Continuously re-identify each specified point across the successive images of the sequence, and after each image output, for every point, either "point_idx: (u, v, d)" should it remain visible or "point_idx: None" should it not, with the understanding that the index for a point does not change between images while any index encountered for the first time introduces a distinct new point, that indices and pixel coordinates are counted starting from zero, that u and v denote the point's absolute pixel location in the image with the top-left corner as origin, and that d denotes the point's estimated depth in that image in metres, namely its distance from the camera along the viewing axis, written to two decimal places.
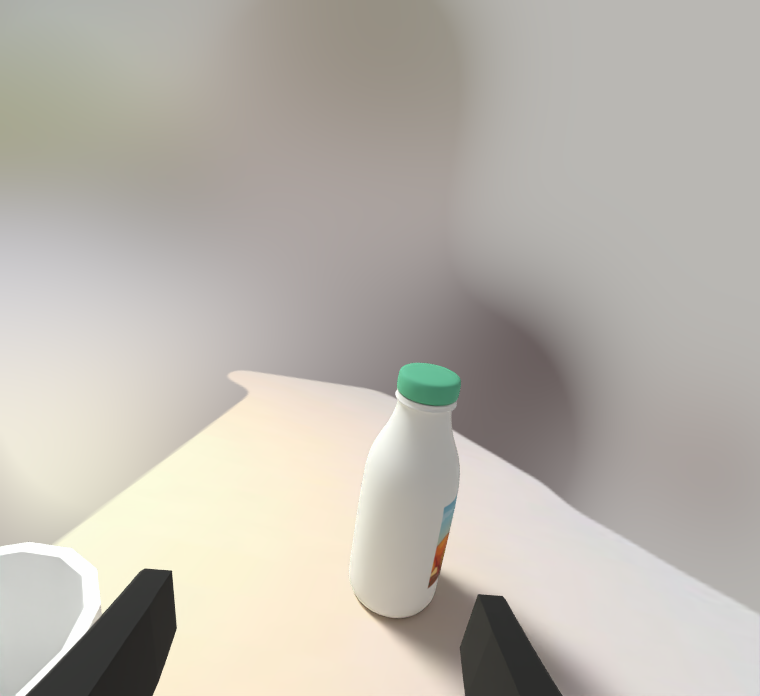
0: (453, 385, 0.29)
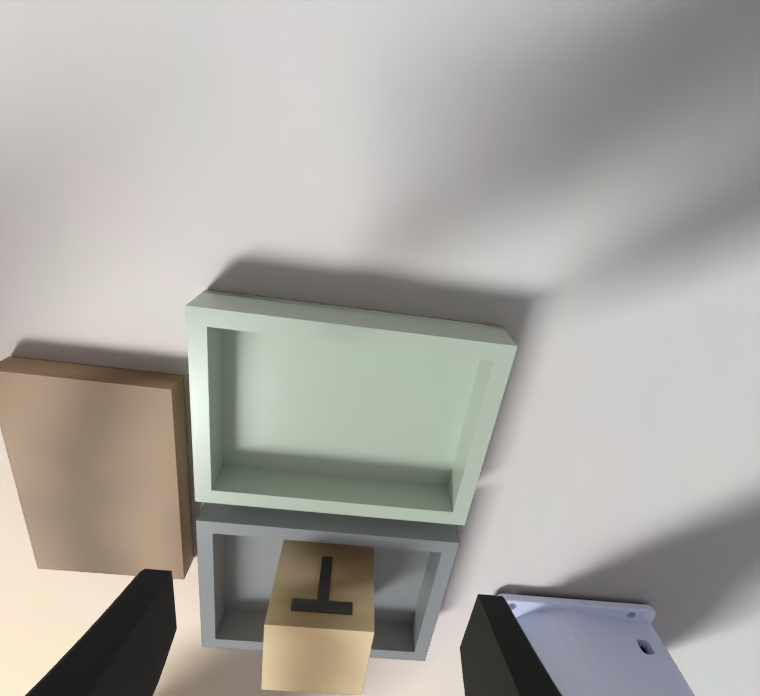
0: None
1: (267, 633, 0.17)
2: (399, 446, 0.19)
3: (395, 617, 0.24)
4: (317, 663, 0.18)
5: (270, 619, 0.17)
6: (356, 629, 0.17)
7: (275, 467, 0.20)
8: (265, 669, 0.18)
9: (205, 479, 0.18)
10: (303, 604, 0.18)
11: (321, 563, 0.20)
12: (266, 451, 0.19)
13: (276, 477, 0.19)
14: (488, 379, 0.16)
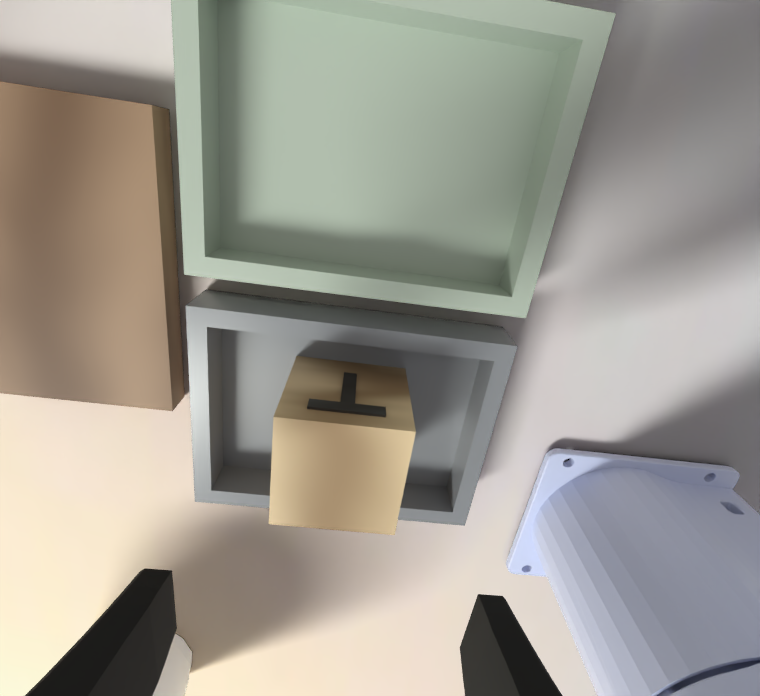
0: None
1: (277, 431, 0.13)
2: (442, 219, 0.15)
3: (427, 479, 0.20)
4: (340, 482, 0.14)
5: (281, 413, 0.13)
6: (392, 428, 0.13)
7: (285, 251, 0.16)
8: (274, 491, 0.14)
9: (197, 238, 0.14)
10: (323, 405, 0.14)
11: (343, 378, 0.16)
12: (275, 226, 0.15)
13: (287, 259, 0.15)
14: (571, 75, 0.12)
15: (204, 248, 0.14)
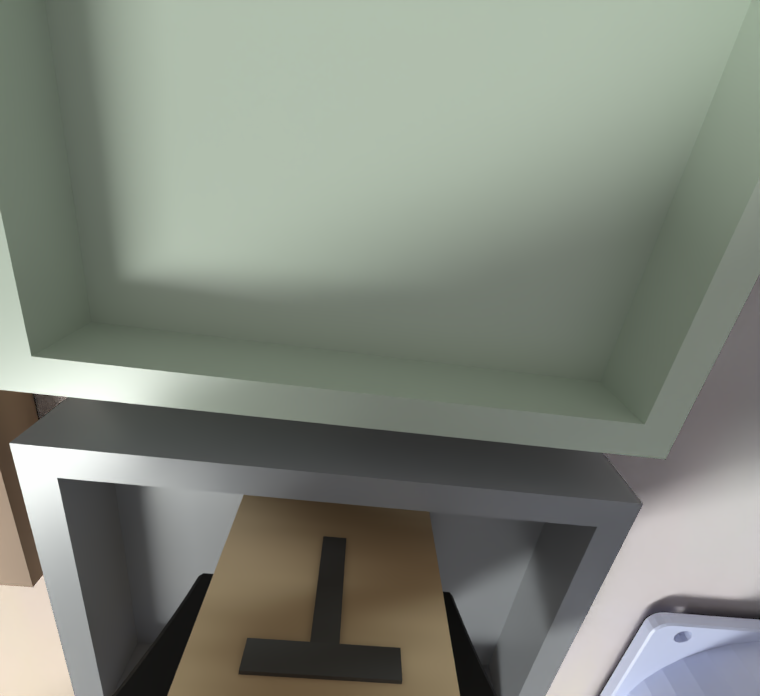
0: None
1: None
2: (506, 271, 0.08)
3: None
4: None
5: None
6: None
7: (213, 328, 0.08)
8: None
9: (9, 322, 0.07)
10: (274, 654, 0.07)
11: (321, 551, 0.09)
12: (190, 283, 0.08)
13: (214, 346, 0.08)
14: None
15: (28, 340, 0.07)
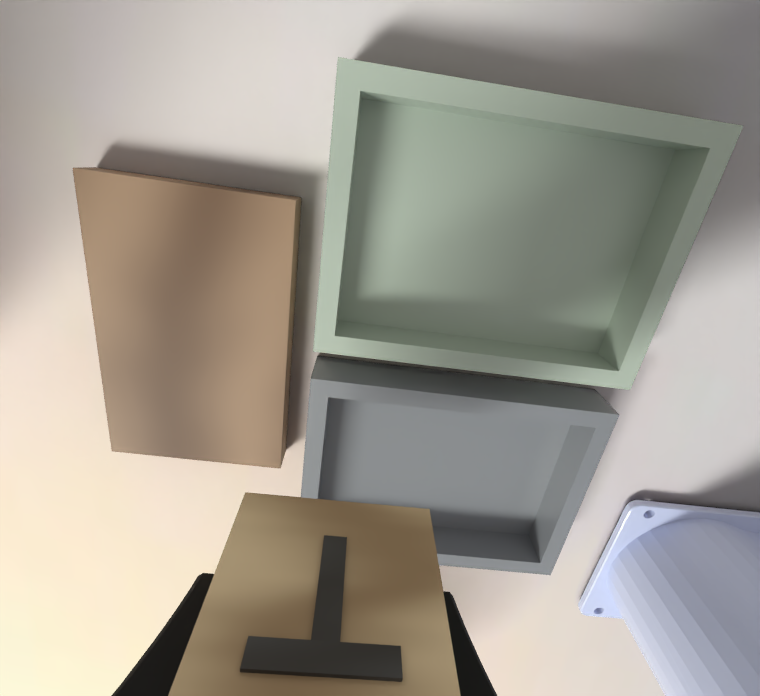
0: None
1: None
2: (550, 295, 0.16)
3: (511, 528, 0.21)
4: None
5: None
6: None
7: (399, 324, 0.16)
8: None
9: (329, 320, 0.15)
10: (275, 653, 0.07)
11: (321, 551, 0.09)
12: (392, 301, 0.16)
13: (403, 332, 0.16)
14: (696, 178, 0.13)
15: (335, 328, 0.15)
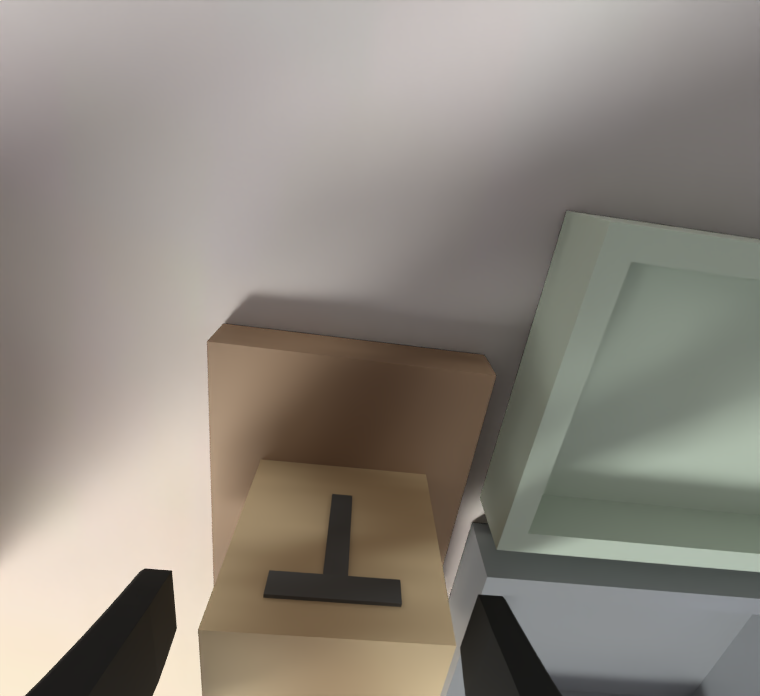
0: None
1: (207, 649, 0.07)
2: None
3: (670, 692, 0.18)
4: None
5: (214, 617, 0.07)
6: (414, 640, 0.08)
7: (585, 494, 0.13)
8: None
9: (525, 517, 0.11)
10: (292, 584, 0.08)
11: (330, 506, 0.10)
12: (581, 471, 0.13)
13: (595, 509, 0.13)
14: None
15: (530, 525, 0.11)
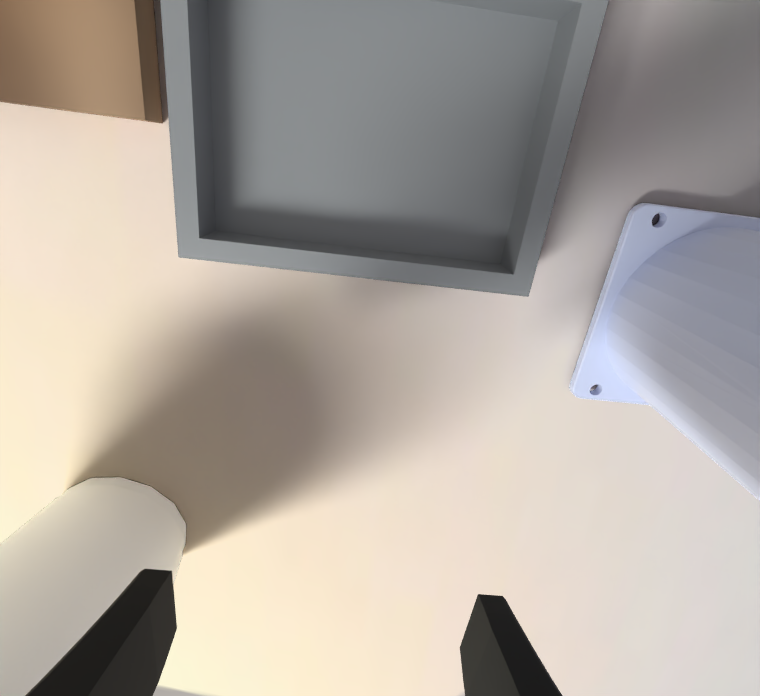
0: None
1: None
2: None
3: (476, 252, 0.16)
4: None
5: None
6: None
7: None
8: None
9: None
10: None
11: None
12: None
13: None
14: None
15: None
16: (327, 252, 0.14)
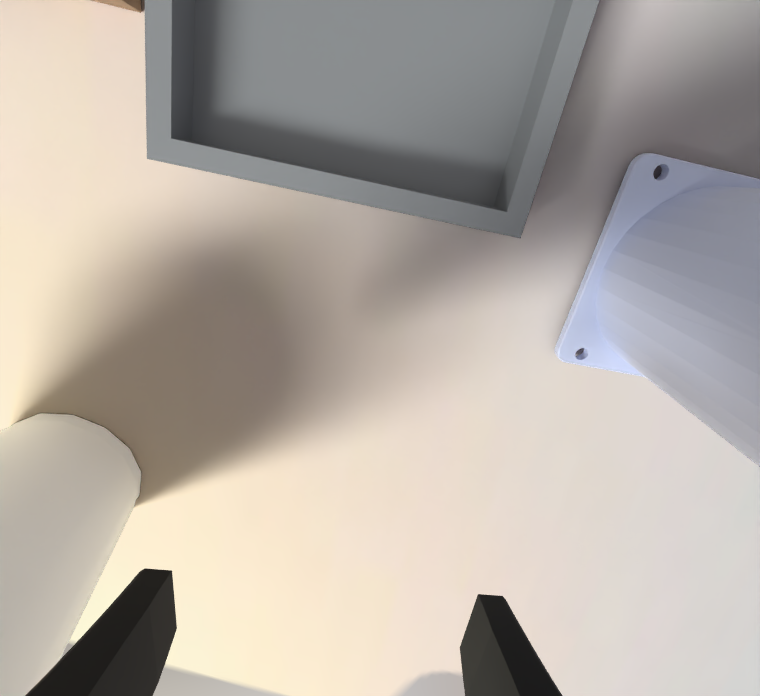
0: None
1: None
2: None
3: (469, 191, 0.15)
4: None
5: None
6: None
7: None
8: None
9: None
10: None
11: None
12: None
13: None
14: None
15: None
16: (310, 169, 0.13)
